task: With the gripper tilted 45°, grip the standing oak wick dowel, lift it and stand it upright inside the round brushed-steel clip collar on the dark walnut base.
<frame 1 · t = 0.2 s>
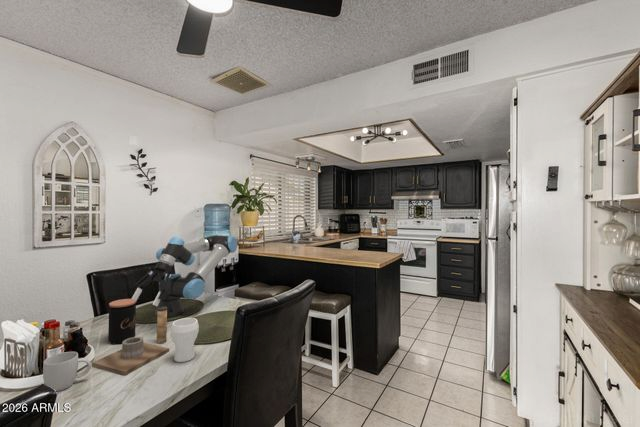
hand: (143, 303, 142), 16 cm above the table, tool tilted 35°, fingers open, 13 cm apart
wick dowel: (161, 341, 135), on the table
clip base: (132, 358, 119), on the table
cup: (184, 358, 121), on the table
coffee jar: (122, 340, 136), on the table
mug: (67, 385, 100), on the table
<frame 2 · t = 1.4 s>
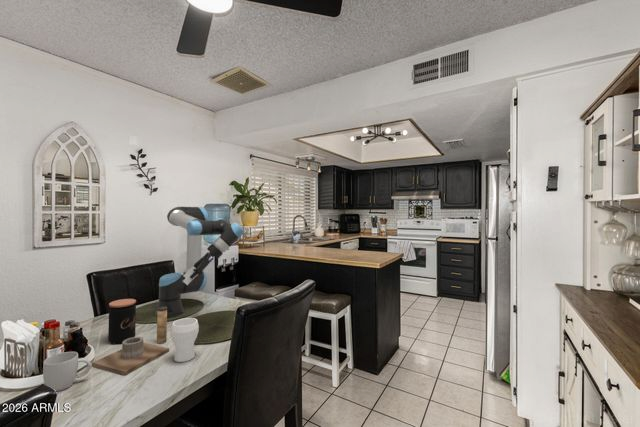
hand: (185, 280, 139), 28 cm above the table, tool tilted 45°, fingers open, 13 cm apart
nothing on the table moved.
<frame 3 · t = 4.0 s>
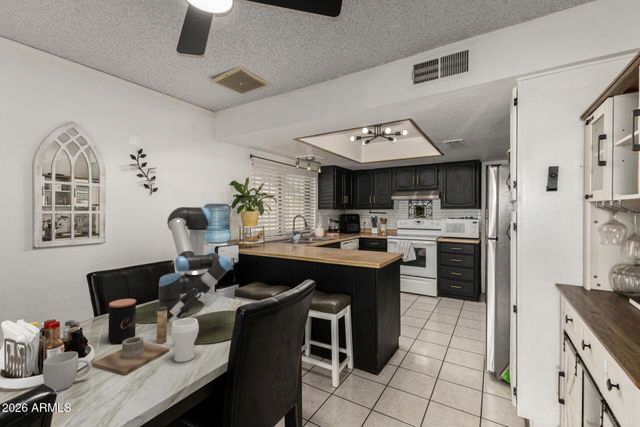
hand: (171, 317, 135), 11 cm above the table, tool tilted 45°, fingers open, 13 cm apart
nothing on the table moved.
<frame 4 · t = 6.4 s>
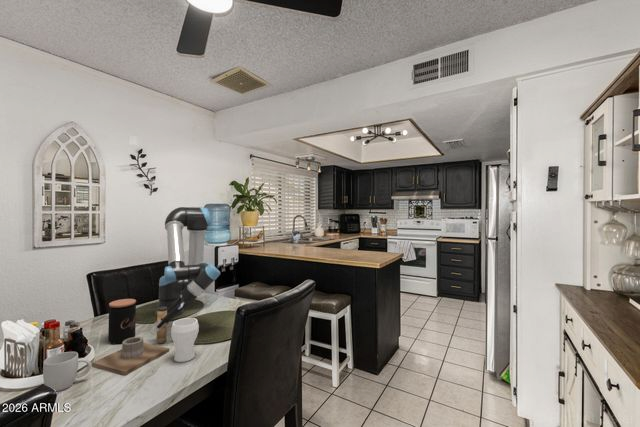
hand: (152, 330, 133), 6 cm above the table, tool tilted 45°, fingers closed on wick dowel, 4 cm apart
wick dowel: (161, 341, 135), on the table, touching gripper
everything else where it was.
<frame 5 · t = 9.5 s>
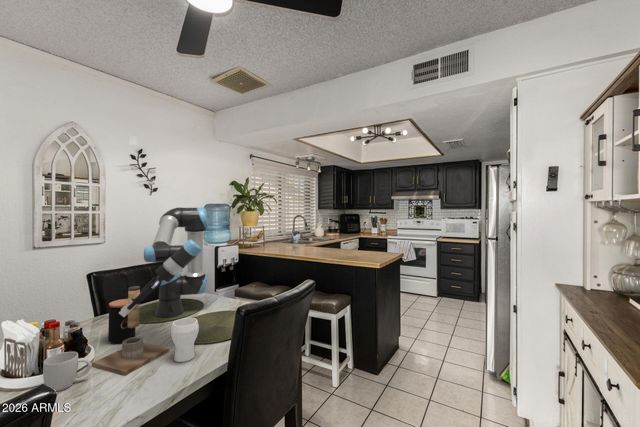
hand: (122, 313, 117), 19 cm above the table, tool tilted 45°, fingers closed on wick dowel, 4 cm apart
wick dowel: (133, 325, 119), point 14 cm above the table, touching gripper
everything else where it was.
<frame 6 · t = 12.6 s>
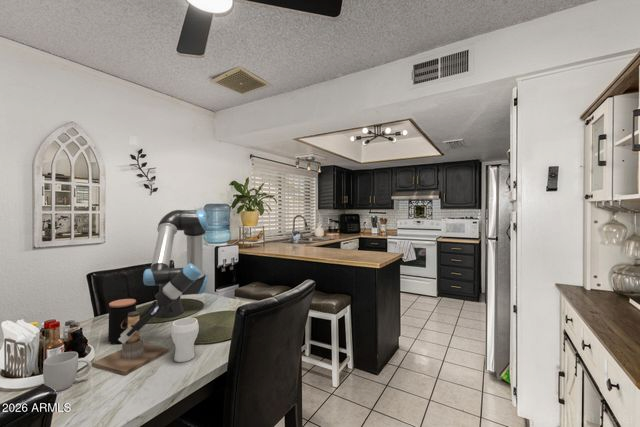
hand: (122, 339, 117), 9 cm above the table, tool tilted 45°, fingers closed on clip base, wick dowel, 4 cm apart
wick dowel: (132, 351, 119), point 3 cm above the table, touching gripper
everything else where it was.
when the fingers open (9 cm above the table, at t = 12.6 s): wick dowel drops 1 cm, resting on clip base.
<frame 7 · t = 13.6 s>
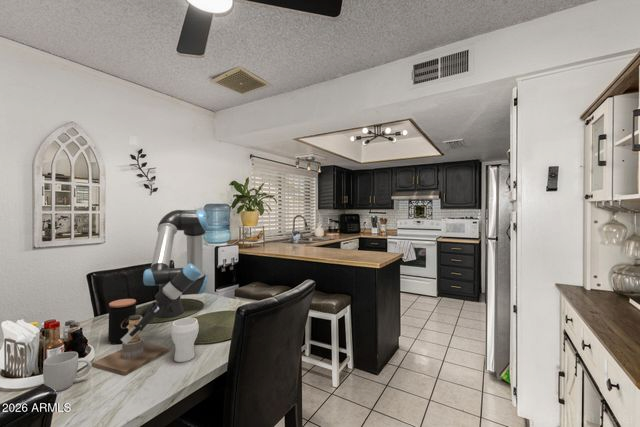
hand: (126, 335, 118), 10 cm above the table, tool tilted 45°, fingers open, 13 cm apart
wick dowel: (132, 354, 119), point 2 cm above the table, touching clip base
everything else where it was.
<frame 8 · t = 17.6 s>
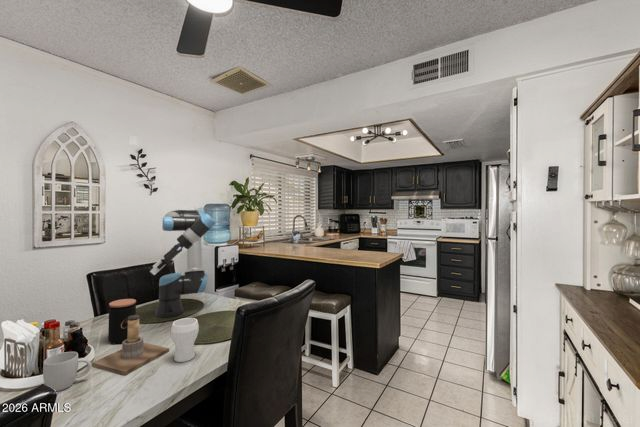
hand: (153, 270, 139), 33 cm above the table, tool tilted 45°, fingers open, 13 cm apart
nothing on the table moved.
at the end: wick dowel 0.1 cm off-centre on the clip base, point 1.5 cm above the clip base's base; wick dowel tilted 0°; the gripper is holding nothing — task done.
